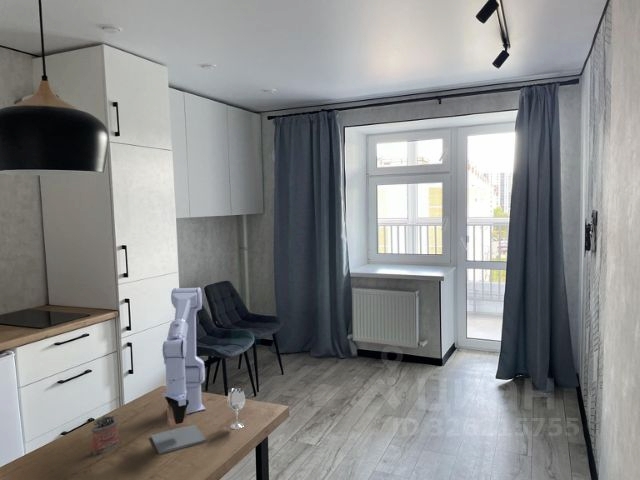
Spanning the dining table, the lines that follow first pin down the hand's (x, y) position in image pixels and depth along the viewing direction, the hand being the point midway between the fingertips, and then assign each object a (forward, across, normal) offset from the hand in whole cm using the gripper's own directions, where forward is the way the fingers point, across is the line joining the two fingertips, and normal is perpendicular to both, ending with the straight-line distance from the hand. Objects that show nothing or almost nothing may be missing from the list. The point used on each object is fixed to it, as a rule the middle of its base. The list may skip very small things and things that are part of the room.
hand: (177, 420), depth 151 cm
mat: (+6, 0, 0) cm, 6 cm away
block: (+2, 0, 0) cm, 2 cm away
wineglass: (+6, +1, +19) cm, 20 cm away
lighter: (+6, -6, -20) cm, 22 cm away
